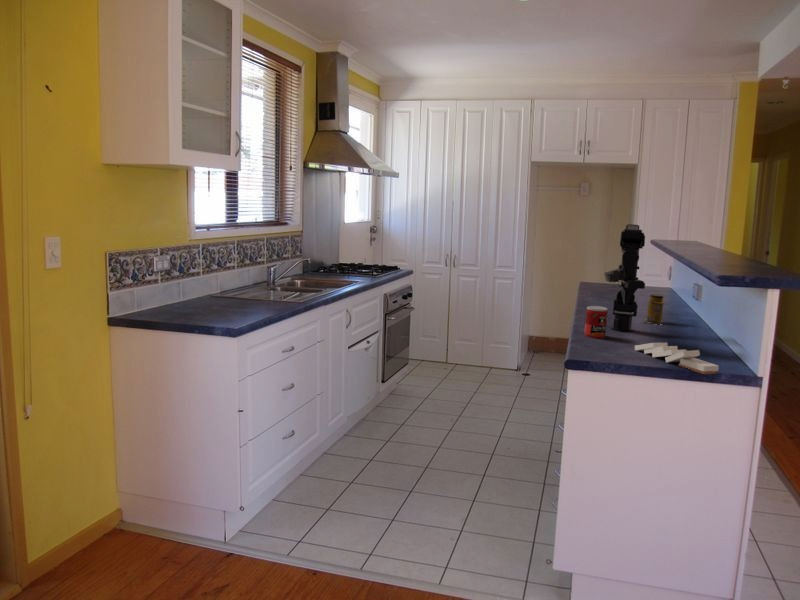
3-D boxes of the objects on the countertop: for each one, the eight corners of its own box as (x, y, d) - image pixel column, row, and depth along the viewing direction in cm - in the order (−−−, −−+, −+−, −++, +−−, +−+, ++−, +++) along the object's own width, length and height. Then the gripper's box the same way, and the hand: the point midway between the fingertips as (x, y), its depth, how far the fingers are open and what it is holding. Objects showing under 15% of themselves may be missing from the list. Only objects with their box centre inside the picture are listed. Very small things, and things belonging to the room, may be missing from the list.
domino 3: (652, 352, 222) (671, 349, 212) (666, 352, 223) (686, 349, 213) (652, 357, 221) (671, 354, 212) (667, 357, 223) (686, 354, 213)
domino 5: (680, 358, 210) (704, 366, 201) (694, 358, 212) (718, 365, 202) (680, 363, 210) (703, 371, 201) (694, 363, 212) (718, 370, 203)
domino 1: (634, 345, 231) (653, 342, 221) (648, 345, 232) (667, 342, 223) (635, 350, 230) (653, 347, 221) (648, 350, 232) (667, 347, 222)
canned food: (591, 338, 247) (594, 309, 245) (580, 333, 254) (582, 305, 252) (609, 338, 249) (612, 309, 247) (597, 333, 256) (600, 305, 255)
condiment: (662, 322, 288) (665, 295, 286) (661, 325, 280) (664, 297, 278) (644, 320, 291) (647, 293, 289) (643, 323, 283) (646, 295, 281)
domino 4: (665, 357, 215) (683, 351, 206) (680, 356, 217) (699, 350, 207) (666, 362, 215) (684, 356, 206) (681, 361, 216) (700, 355, 207)
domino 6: (678, 363, 211) (703, 371, 202) (692, 362, 214) (717, 370, 204) (678, 367, 212) (703, 376, 203) (691, 366, 214) (716, 375, 205)
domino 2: (643, 349, 226) (662, 346, 217) (657, 348, 228) (677, 346, 218) (644, 353, 226) (663, 351, 216) (658, 353, 227) (677, 350, 218)
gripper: (600, 259, 254) (596, 299, 257) (616, 264, 236) (612, 307, 238) (628, 260, 254) (624, 300, 257) (647, 266, 236) (643, 309, 238)
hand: (625, 304), depth 248 cm, fingers closed
